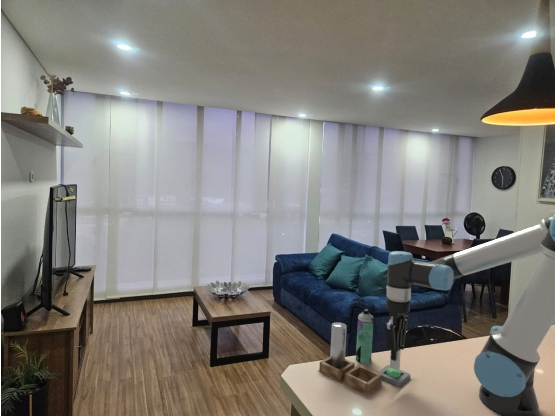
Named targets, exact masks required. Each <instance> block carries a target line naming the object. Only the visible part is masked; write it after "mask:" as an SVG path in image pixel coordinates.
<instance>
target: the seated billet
mask: <svg viewBox="0 0 555 416" xmlns="http://www.w3.org/2000/svg"><path fill="white" fill-rule="evenodd" d="M347 328H348V325H347V324H346V323H343V322H337V321H335V322H332V324H331V335H330V336H331V337H330V356H329V357H330V365H331V366H333V367H335V368H338V369H342V368H343V367H345V359H346V350H347V349H346V348H347V347H346V344H347V331H348V330H347Z"/></svg>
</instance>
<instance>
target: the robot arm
mask: <svg viewBox="0 0 555 416" xmlns="http://www.w3.org/2000/svg"><path fill="white" fill-rule="evenodd" d="M542 253H543V254H542ZM539 254H542V256H541V257H540V260H539V261H538V263H537V264H536V267H535V268H534V270H533V271H532V273H531V275H530V277H529V279H528V281H527V282H526V284H525V286H524V288H523V290H521V291H522V292H521V293H520V295H519V296H518V298H517V301H516V302H515V304H514V306H513V307H512V309H511V311H510V313H509V314H508V316H507V318H506V320H505V322H504V324H503V325H493V326H492V327H491V328H490V332H489V337H488V339H487V340H486V342H485V343H484V346H483V347H482V349H481V351H480V353H479V354H478V355H476V357H475V358H474V363H473V370H474V375H475V377H476V379H477V381H478V382H479V383H480V387H479V389H478V390H479V391H478V392H479V393H478V398H479V400H480V401H481V403H483V404H484V406H486V407H487V408H489V409H490V410H491V411H494V412H495V413H498V414H499V415H501V416H539V412H540V405H539V402H538V399H537V395H536V392H535V388H534V387H535V386H534V380H535V369H536V367H537V365H538V363H539V362H540V359H541V356H540V354H539V352H538V349H539V347H540V346H541V344H542V342H543V340H544V339H545V337H546V335H547V333H548V332H549V331H550V329H551V328H552V325H553V324H554V322H555V213H554V214H553V215H551V216H548V217H545V218H542V220H541V222H540V223H539V224H536V225H534V226H530V227H528V228H527V227H526V228H525V229H521V230H519V231H516V232H513V233H510V234H507V235H504V236H501V237H498V238H496V239H492V240H490V241H489V240H488V242H484V243H480V244H478V245H476V246H473V247H470V248H467V249H463V250H461V251H459V252H455V253H452V254H449V255H446V256H443V257H440V258H438V259H435V260H432V261H430V262H428V261H420V260H415V259H414V257H413V253H411V252H407V251H402V250H400V251H399V250H395V251H391V252H390V253H389V254H388V259H387V260H388V262H387V264H386V265H387V278H386V279H387V281H386V286H385V289H386V298H385V309H386V310H387V311H388V312H389V316H388V322H385V323H384V328H385V334H386V335H385V336H386V346H387V347H386V348H387V349H388V350H390V357H389V358H390V359H389V361H390V362H389V365H390V368H392V369H395V370H397V371H398V370H401V368H400V367H401V351H403V350H404V349H405V347H403V346H404V345H405V343H406V342H405V340H406V336H407V335H406V334H407V326H408V322H409V319H410V317H409V315H406V314H408V313H409V312H411V301H410V300H411V298H412V297H411V296H412V285H416V286H421V287H426V288H429V289H433V290H437V291H438V290H440V291H449V290H450V289H451V288H452V286H453V284H454V279H459V278H461V277H464V276H467V275H468V276H469V275H471V274H474V273H478V272H480V271H484V270H489V269H491V268H495V267H497V266H502V265H506V264H508V263H511V262H514V261H517V260H522V259H525V258H528V257H531V256H535V255H539Z"/></svg>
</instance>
